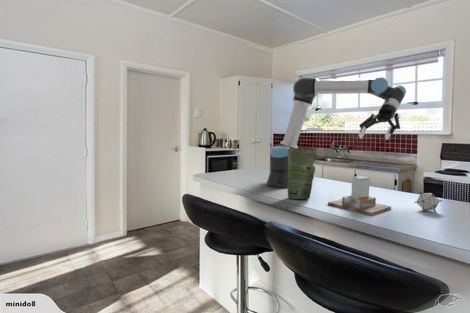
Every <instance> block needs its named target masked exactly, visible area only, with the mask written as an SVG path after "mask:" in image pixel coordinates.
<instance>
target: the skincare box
mask: <svg viewBox="0 0 470 313" xmlns="http://www.w3.org/2000/svg"><path fill="white" fill-rule="evenodd" d="M351 178H352V179H351V194H350V195H351V199H356V200H360V201H362V200H365V199H369V197H370V185H371V184H370V183H371V182H370V181H371V178H370V177H368V176H364V175H363V176H352V177H351Z"/></svg>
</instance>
